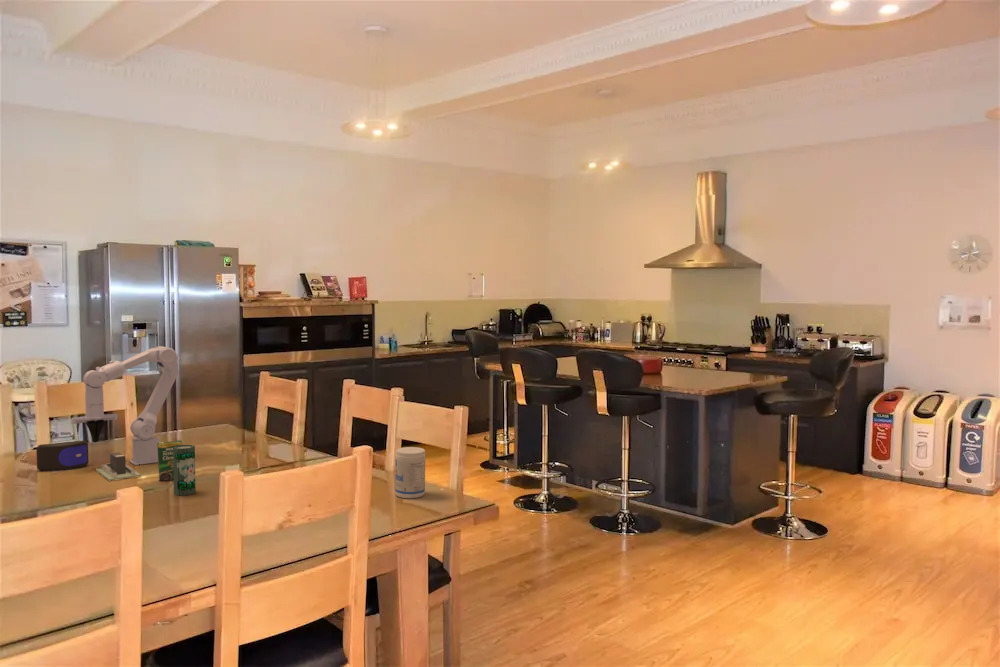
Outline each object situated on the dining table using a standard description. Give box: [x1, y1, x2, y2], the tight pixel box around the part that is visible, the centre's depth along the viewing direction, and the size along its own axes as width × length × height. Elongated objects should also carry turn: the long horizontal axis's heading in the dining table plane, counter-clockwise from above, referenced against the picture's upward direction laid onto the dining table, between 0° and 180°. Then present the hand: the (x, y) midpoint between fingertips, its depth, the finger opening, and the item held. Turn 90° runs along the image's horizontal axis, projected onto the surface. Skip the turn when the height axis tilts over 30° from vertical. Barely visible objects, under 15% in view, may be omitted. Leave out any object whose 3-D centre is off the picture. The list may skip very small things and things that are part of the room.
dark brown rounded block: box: [35, 440, 89, 472], centre depth 275 cm, size 16×5×9 cm, turn 123°
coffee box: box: [157, 439, 183, 482], centre depth 262 cm, size 8×3×13 cm, turn 115°
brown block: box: [109, 451, 127, 475], centre depth 269 cm, size 3×8×6 cm, turn 40°
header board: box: [95, 462, 142, 481], centre depth 269 cm, size 10×18×2 cm, turn 40°
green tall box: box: [173, 444, 197, 497], centre depth 246 cm, size 6×6×15 cm
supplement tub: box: [394, 446, 426, 499], centre depth 246 cm, size 10×10×15 cm
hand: (95, 441), depth 276 cm, fingers closed
